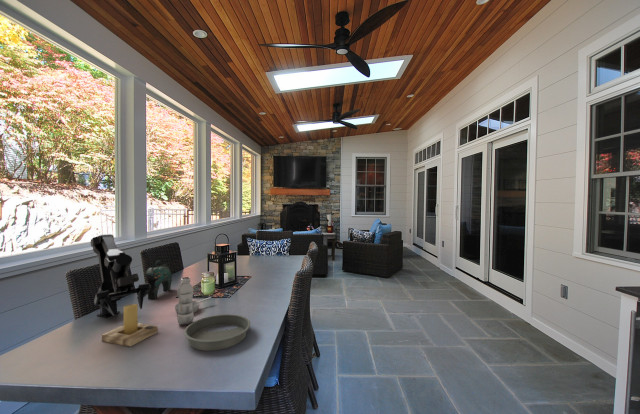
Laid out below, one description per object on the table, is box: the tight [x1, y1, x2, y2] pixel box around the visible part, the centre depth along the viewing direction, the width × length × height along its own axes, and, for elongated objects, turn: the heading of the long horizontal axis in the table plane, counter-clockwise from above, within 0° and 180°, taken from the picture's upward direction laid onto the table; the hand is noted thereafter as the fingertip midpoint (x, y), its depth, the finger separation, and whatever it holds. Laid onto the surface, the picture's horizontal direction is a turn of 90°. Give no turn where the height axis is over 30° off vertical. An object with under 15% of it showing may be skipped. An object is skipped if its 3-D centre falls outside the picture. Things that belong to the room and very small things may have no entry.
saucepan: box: [174, 296, 212, 314], centre depth 139 cm, size 11×18×4 cm, turn 143°
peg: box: [123, 303, 139, 335], centre depth 111 cm, size 5×5×12 cm
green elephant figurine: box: [145, 260, 173, 300], centre depth 161 cm, size 20×6×20 cm, turn 179°
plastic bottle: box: [176, 276, 195, 326], centre depth 123 cm, size 6×7×20 cm
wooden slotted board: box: [101, 322, 159, 347], centre depth 111 cm, size 14×12×3 cm
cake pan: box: [183, 313, 251, 352], centre depth 111 cm, size 25×25×4 cm
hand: (128, 311), depth 112 cm, fingers open, 9 cm apart
